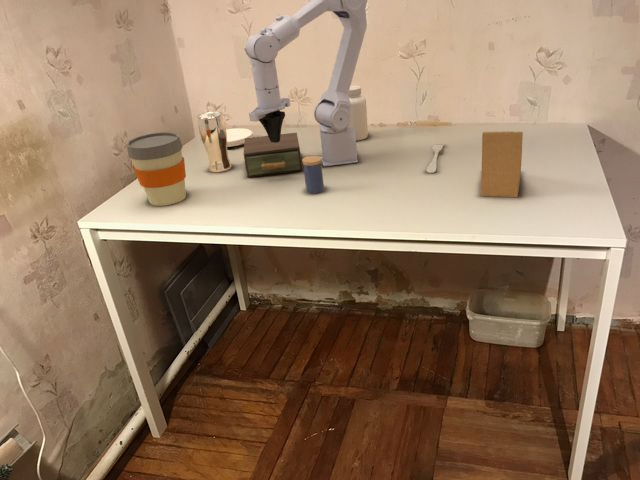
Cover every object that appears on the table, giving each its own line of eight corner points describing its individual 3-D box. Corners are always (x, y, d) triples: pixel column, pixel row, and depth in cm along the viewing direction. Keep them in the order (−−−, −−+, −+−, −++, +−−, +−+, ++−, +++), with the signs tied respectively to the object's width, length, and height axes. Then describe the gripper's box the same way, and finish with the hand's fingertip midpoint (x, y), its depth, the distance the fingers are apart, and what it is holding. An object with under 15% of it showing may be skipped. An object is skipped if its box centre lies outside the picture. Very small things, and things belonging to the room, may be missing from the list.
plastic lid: (216, 153, 173) (215, 145, 172) (203, 142, 184) (201, 134, 182) (260, 143, 179) (259, 135, 177) (244, 133, 189) (243, 125, 188)
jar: (323, 185, 145) (320, 154, 141) (325, 192, 141) (322, 161, 137) (305, 187, 144) (301, 157, 140) (306, 194, 140) (302, 163, 136)
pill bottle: (368, 140, 173) (365, 89, 166) (341, 142, 174) (337, 91, 166) (368, 132, 180) (365, 83, 173) (342, 134, 181) (338, 85, 173)
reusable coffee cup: (152, 190, 150) (136, 133, 143) (199, 187, 150) (186, 130, 142) (134, 210, 140) (116, 150, 132) (185, 207, 139) (170, 146, 131)
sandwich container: (520, 172, 143) (524, 111, 135) (518, 197, 130) (523, 131, 122) (484, 171, 145) (486, 111, 137) (479, 196, 132) (482, 131, 125)
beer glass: (227, 173, 158) (216, 118, 150) (203, 172, 159) (192, 118, 152) (237, 164, 163) (227, 111, 156) (214, 164, 165) (203, 111, 157)
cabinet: (302, 170, 155) (299, 147, 152) (247, 177, 154) (243, 153, 150) (299, 154, 167) (296, 132, 163) (248, 160, 165) (244, 138, 162)
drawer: (301, 174, 150) (298, 157, 147) (249, 181, 149) (245, 163, 146) (297, 154, 164) (295, 138, 162) (250, 160, 163) (247, 143, 160)
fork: (425, 181, 148) (425, 171, 147) (435, 146, 164) (434, 137, 163) (436, 181, 148) (436, 171, 146) (445, 146, 164) (444, 137, 162)
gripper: (262, 95, 134) (271, 152, 141) (297, 81, 145) (303, 134, 152) (238, 94, 137) (248, 149, 144) (274, 80, 148) (281, 132, 155)
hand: (275, 141), depth 148 cm, fingers closed
